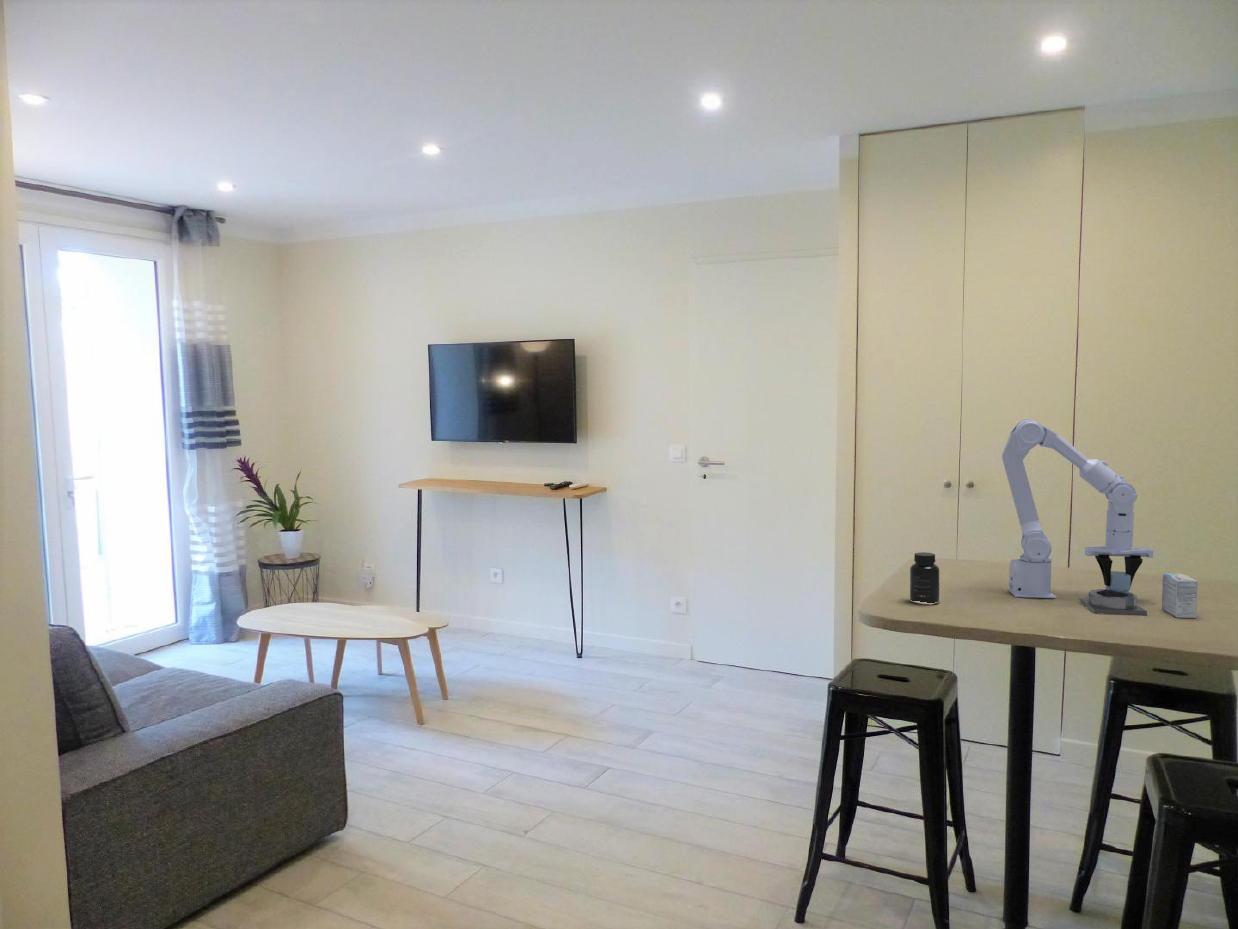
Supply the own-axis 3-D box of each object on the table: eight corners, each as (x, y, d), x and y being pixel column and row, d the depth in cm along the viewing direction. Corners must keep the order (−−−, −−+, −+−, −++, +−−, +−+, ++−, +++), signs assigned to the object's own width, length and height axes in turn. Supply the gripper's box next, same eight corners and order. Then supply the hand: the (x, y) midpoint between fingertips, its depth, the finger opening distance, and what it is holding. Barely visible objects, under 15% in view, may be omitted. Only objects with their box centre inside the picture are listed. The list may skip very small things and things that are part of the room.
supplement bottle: (913, 597, 218) (913, 550, 217) (941, 600, 215) (942, 552, 214) (906, 603, 212) (907, 555, 211) (936, 606, 209) (936, 557, 208)
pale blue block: (1109, 599, 211) (1110, 575, 210) (1102, 594, 216) (1103, 571, 215) (1132, 600, 210) (1133, 575, 209) (1124, 595, 214) (1125, 571, 214)
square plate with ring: (1094, 613, 200) (1094, 598, 200) (1079, 602, 211) (1079, 587, 211) (1146, 615, 198) (1147, 600, 198) (1129, 603, 209) (1129, 589, 209)
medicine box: (1197, 619, 195) (1199, 580, 194) (1175, 618, 196) (1176, 580, 195) (1182, 610, 202) (1183, 573, 202) (1160, 609, 203) (1162, 573, 203)
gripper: (1092, 532, 209) (1090, 588, 210) (1159, 533, 206) (1156, 590, 207) (1083, 527, 216) (1081, 582, 217) (1147, 529, 213) (1145, 583, 214)
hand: (1117, 585), depth 212 cm, fingers closed on pale blue block, 4 cm apart
